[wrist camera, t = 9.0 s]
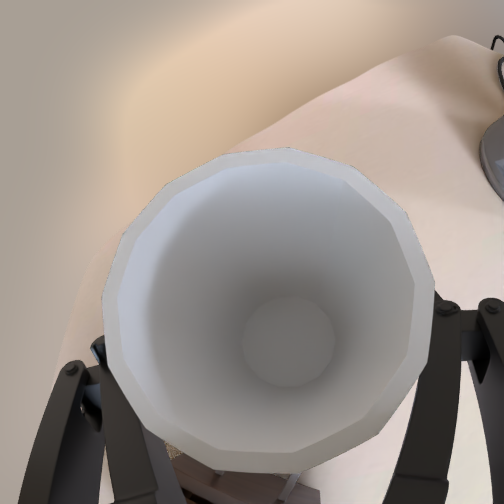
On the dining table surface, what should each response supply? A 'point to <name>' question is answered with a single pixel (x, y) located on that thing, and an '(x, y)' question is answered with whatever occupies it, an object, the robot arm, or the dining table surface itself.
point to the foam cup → (268, 311)
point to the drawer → (238, 485)
